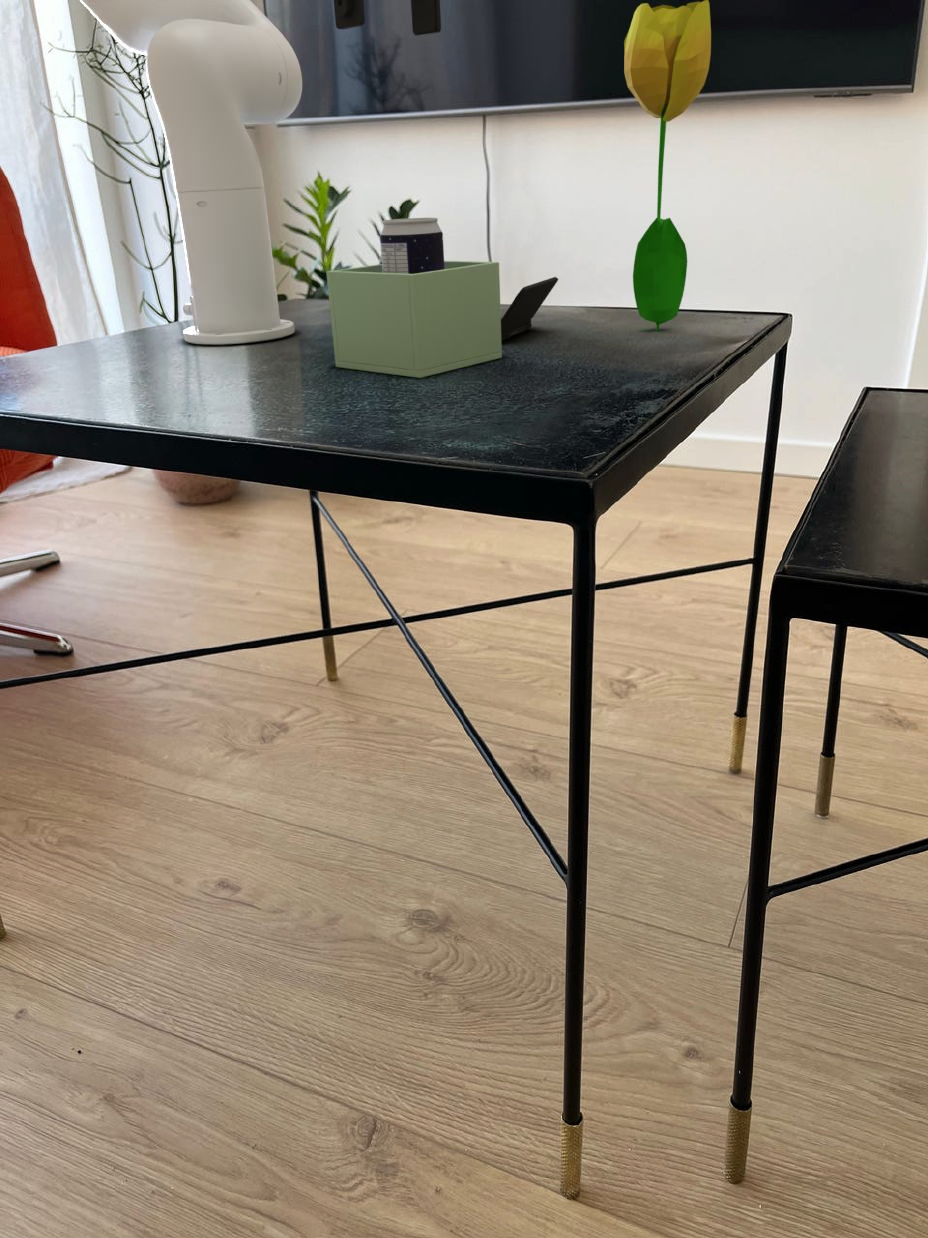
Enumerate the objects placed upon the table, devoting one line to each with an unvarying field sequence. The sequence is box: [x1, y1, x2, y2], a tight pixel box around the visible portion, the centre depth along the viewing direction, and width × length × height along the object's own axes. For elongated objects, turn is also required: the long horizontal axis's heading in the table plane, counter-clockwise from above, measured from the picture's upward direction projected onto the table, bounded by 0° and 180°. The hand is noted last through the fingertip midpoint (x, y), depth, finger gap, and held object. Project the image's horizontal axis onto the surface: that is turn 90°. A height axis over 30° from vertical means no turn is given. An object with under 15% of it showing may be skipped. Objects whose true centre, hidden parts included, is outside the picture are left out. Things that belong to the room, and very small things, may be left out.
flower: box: [623, 0, 712, 331], centre depth 98 cm, size 9×8×30 cm
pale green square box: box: [325, 260, 503, 379], centre depth 91 cm, size 11×11×9 cm
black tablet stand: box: [501, 276, 559, 342], centre depth 104 cm, size 12×7×10 cm
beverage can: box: [379, 217, 445, 274], centre depth 90 cm, size 6×6×12 cm
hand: (390, 30), depth 90 cm, fingers open, 9 cm apart
